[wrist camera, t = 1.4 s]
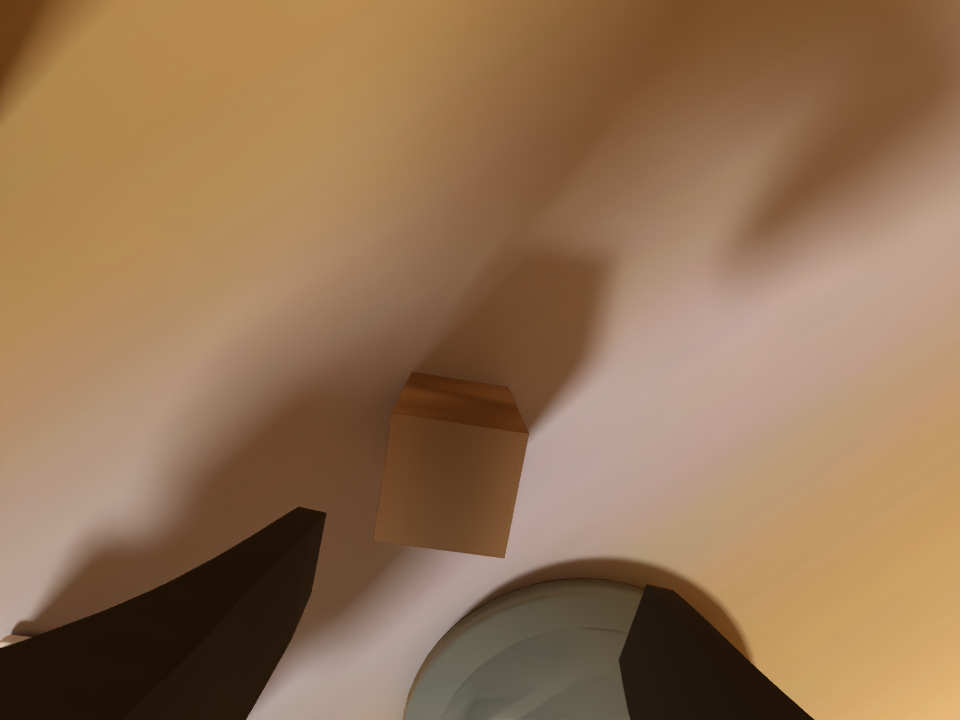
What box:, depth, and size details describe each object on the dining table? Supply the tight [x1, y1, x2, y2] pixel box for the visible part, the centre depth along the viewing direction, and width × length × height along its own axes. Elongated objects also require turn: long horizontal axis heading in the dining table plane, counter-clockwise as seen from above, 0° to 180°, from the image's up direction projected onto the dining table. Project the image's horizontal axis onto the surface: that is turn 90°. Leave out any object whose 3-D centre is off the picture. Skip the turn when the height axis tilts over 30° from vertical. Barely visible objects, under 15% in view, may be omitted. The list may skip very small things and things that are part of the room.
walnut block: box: [373, 372, 529, 558], centre depth 17 cm, size 4×4×6 cm
